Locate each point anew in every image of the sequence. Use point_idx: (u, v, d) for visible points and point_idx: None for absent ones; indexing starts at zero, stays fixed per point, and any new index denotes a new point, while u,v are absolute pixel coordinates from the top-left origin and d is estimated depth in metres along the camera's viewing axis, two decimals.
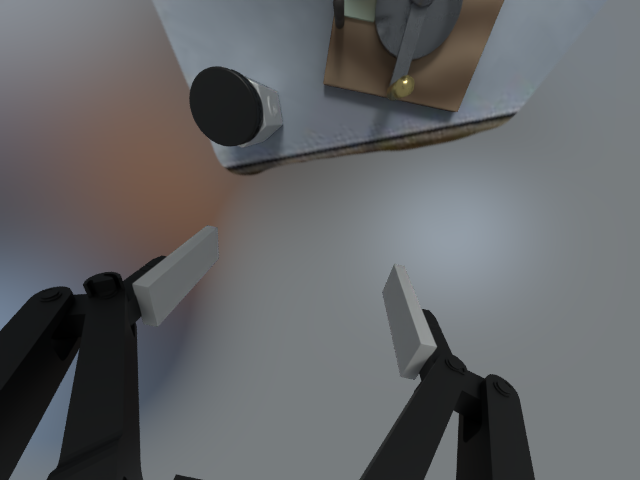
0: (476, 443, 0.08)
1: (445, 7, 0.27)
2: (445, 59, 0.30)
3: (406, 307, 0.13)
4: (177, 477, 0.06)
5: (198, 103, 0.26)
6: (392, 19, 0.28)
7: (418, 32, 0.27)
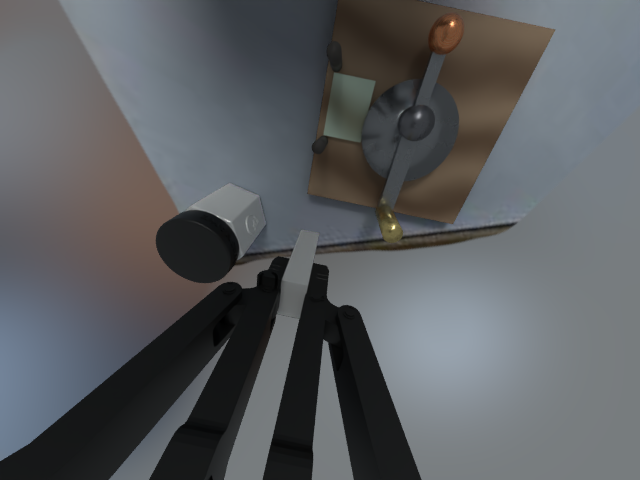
0: (343, 368, 0.10)
1: (438, 137, 0.24)
2: (439, 177, 0.28)
3: None
4: None
5: (165, 248, 0.24)
6: (380, 146, 0.25)
7: (408, 162, 0.25)
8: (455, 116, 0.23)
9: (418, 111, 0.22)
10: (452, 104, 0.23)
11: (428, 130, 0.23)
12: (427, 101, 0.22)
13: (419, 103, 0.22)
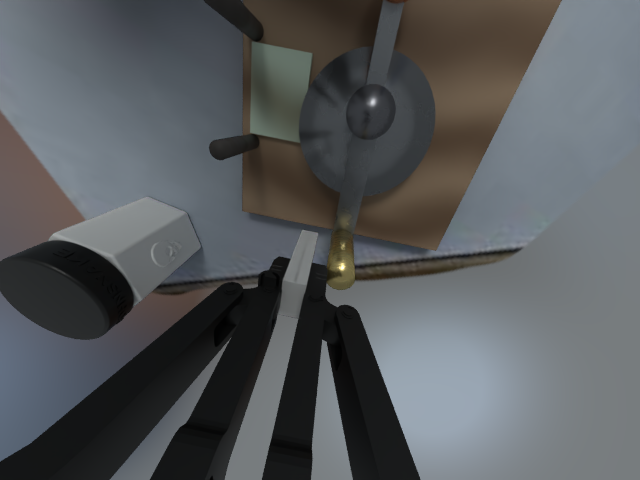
0: (342, 368, 0.10)
1: (407, 132, 0.17)
2: (413, 190, 0.20)
3: None
4: None
5: (13, 295, 0.17)
6: (326, 148, 0.18)
7: (366, 170, 0.17)
8: (429, 101, 0.16)
9: (369, 94, 0.14)
10: (423, 83, 0.15)
11: (387, 122, 0.15)
12: (383, 79, 0.15)
13: (372, 83, 0.15)
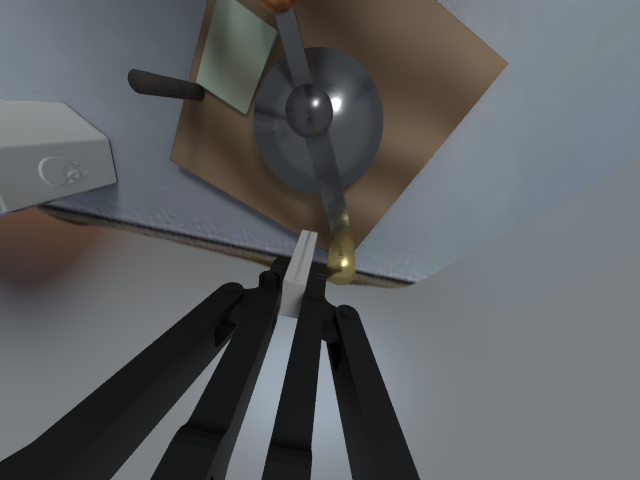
0: (342, 368, 0.10)
1: (355, 111, 0.17)
2: None
3: None
4: None
5: None
6: (291, 160, 0.19)
7: (333, 163, 0.17)
8: (361, 72, 0.15)
9: (299, 97, 0.15)
10: (347, 60, 0.15)
11: (327, 112, 0.15)
12: (308, 77, 0.15)
13: (300, 85, 0.16)
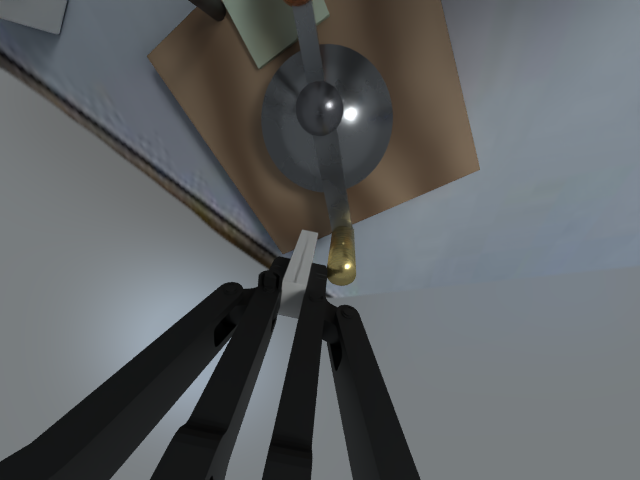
0: (342, 368, 0.10)
1: (365, 113, 0.17)
2: (305, 199, 0.22)
3: None
4: None
5: None
6: (297, 157, 0.19)
7: (339, 163, 0.17)
8: (374, 74, 0.15)
9: (311, 93, 0.15)
10: (361, 61, 0.15)
11: (338, 111, 0.15)
12: (321, 74, 0.15)
13: (312, 82, 0.15)
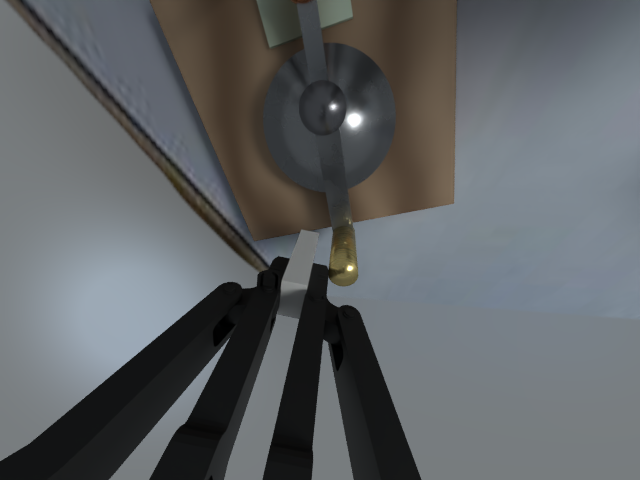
0: (344, 368, 0.10)
1: (368, 113, 0.16)
2: (288, 192, 0.22)
3: None
4: None
5: None
6: (298, 156, 0.18)
7: (341, 163, 0.17)
8: (378, 74, 0.15)
9: (314, 92, 0.15)
10: (365, 60, 0.15)
11: (342, 111, 0.15)
12: (325, 73, 0.15)
13: (315, 81, 0.15)
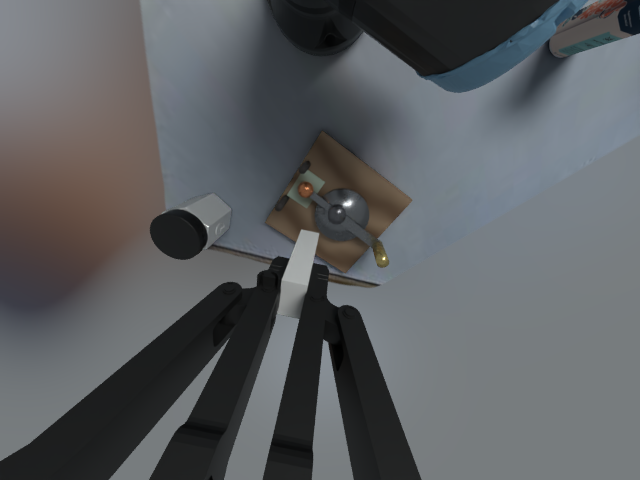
0: (344, 368, 0.10)
1: (351, 202, 0.40)
2: (344, 244, 0.46)
3: None
4: None
5: (157, 228, 0.35)
6: (339, 231, 0.43)
7: (355, 224, 0.41)
8: (345, 191, 0.40)
9: (331, 214, 0.40)
10: (338, 191, 0.40)
11: (342, 212, 0.39)
12: (329, 205, 0.40)
13: (328, 209, 0.40)
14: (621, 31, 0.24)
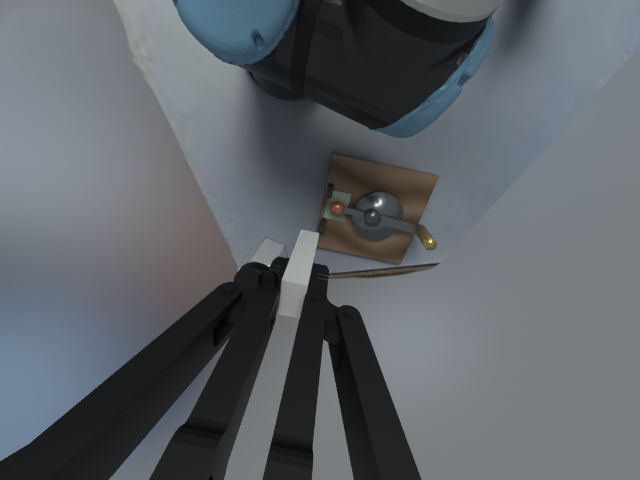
0: (344, 368, 0.10)
1: (381, 202, 0.43)
2: (389, 239, 0.49)
3: None
4: None
5: (239, 282, 0.45)
6: (380, 230, 0.46)
7: (392, 219, 0.44)
8: (371, 195, 0.43)
9: (366, 219, 0.43)
10: (365, 197, 0.43)
11: (376, 214, 0.43)
12: (362, 212, 0.44)
13: (363, 216, 0.44)
14: None
